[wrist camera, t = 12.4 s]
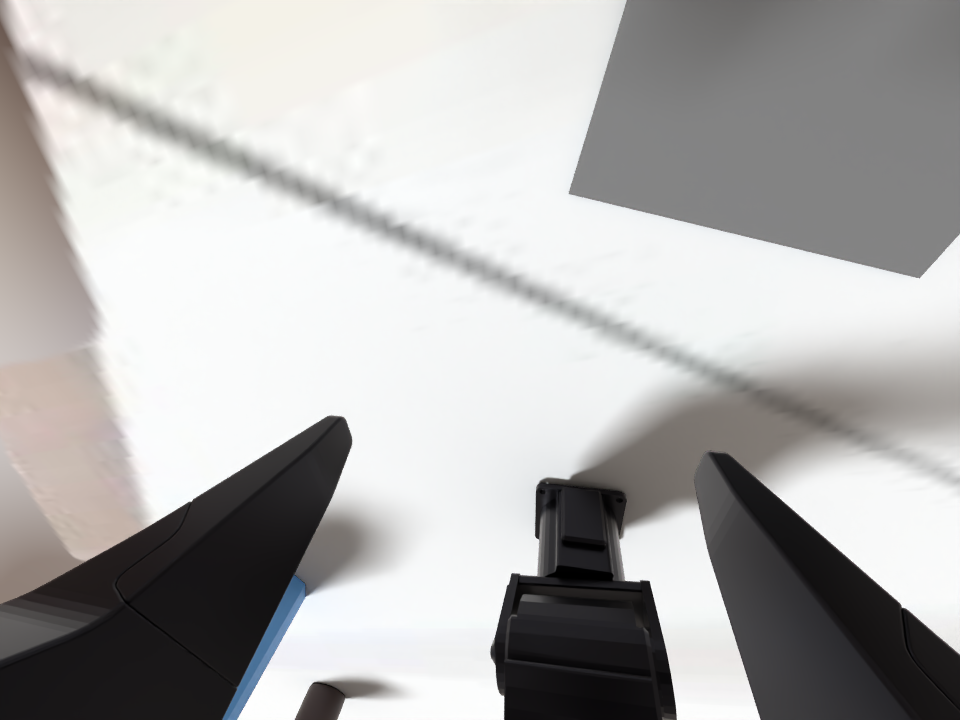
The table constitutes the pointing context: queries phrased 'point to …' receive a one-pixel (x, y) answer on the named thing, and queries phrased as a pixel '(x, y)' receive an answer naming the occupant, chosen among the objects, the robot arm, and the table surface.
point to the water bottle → (268, 646)
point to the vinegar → (321, 703)
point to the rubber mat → (787, 123)
